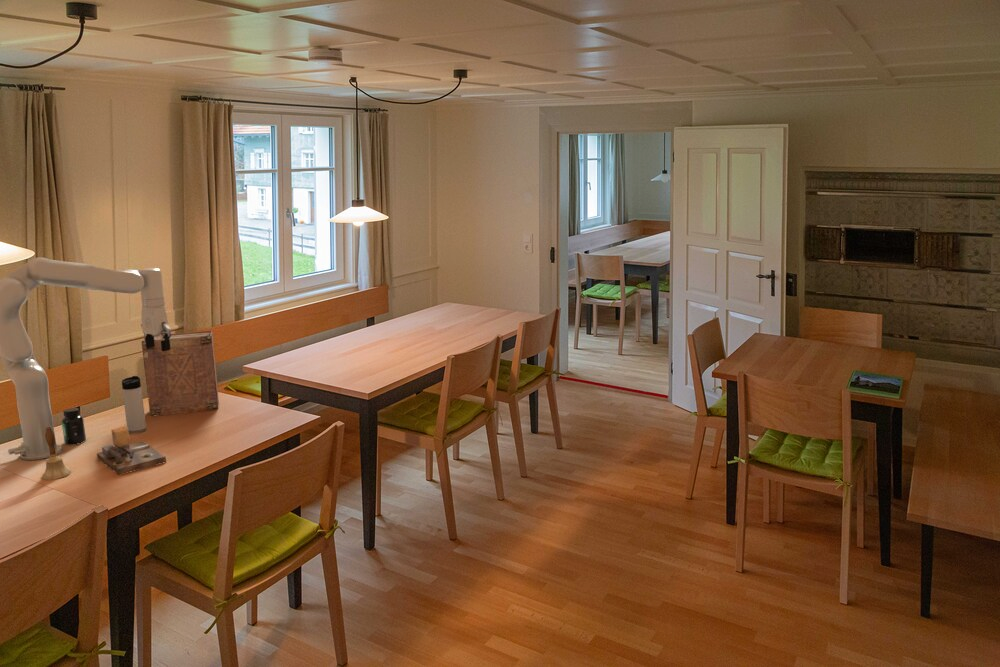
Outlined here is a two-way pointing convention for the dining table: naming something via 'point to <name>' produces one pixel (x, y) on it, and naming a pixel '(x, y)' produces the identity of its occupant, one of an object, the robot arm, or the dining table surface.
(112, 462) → the gauge plate
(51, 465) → the hand bell
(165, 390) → the book
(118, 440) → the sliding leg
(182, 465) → the dining table surface
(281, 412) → the dining table surface
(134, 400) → the travel mug
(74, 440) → the supplement bottle
